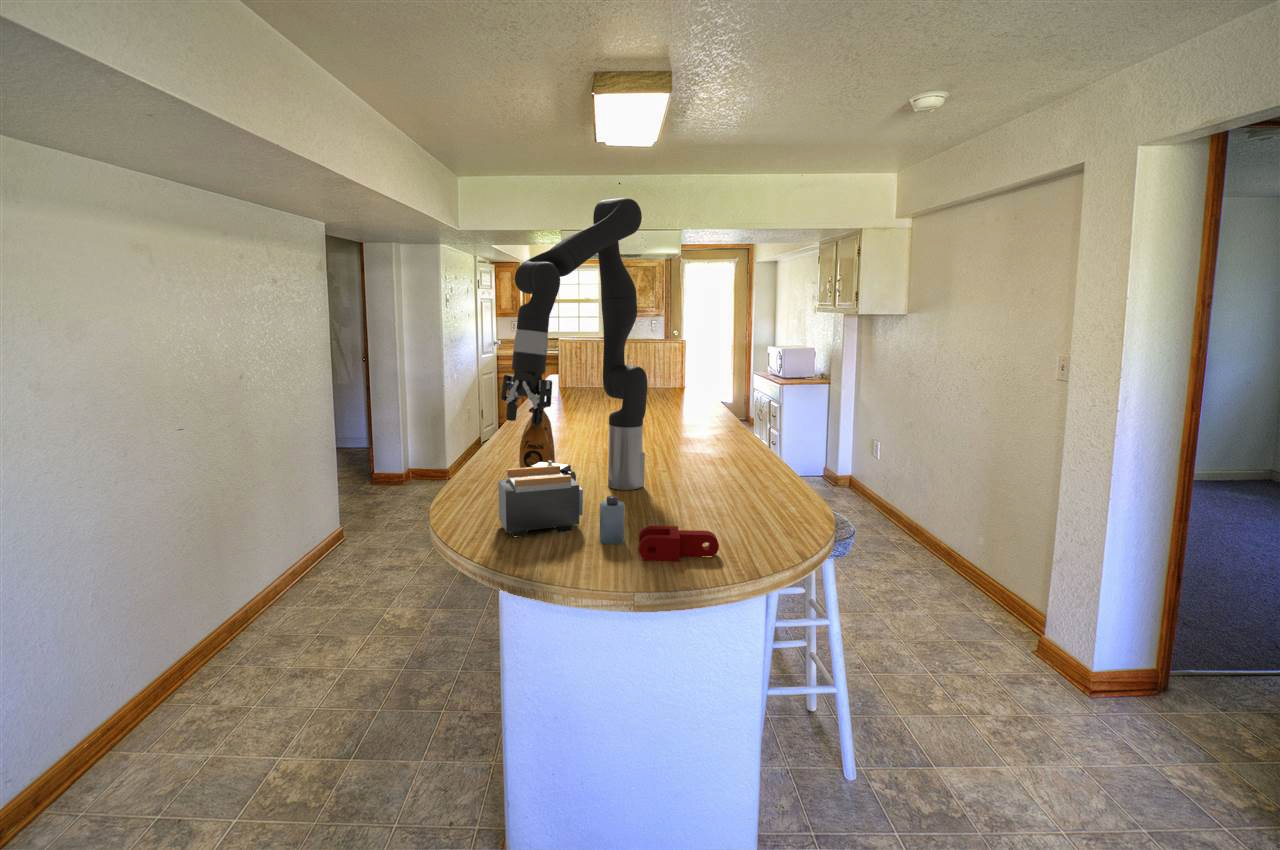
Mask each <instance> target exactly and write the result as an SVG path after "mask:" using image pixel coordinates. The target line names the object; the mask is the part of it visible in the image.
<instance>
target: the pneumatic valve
mask: <svg viewBox="0 0 1280 850" xmlns="http://www.w3.org/2000/svg"><path fill="white" fill-rule="evenodd" d="M555 465H560V472H561V473H562V474H563V475H571V478H572V479H573V480H575V481H576V480H577V474H576V472H575V471H573V469H572V465H571V464H563V463H555V464H554V463H552V461H548V463H545V462H536V463H534V464H532V465H530V466H529V467H541V466H555ZM576 482H577V481H576Z"/></svg>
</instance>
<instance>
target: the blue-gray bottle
mask: <svg viewBox="0 0 1280 850" xmlns="http://www.w3.org/2000/svg"><path fill="white" fill-rule="evenodd" d="M625 508H626V507H625V503H624V502H623V501H620V500H619V496H617V495H607V496H606V500H604V501H602V502H600V503H599V542H600V543H601V544H605V545H611V546H612V545H619V544H623V543H624V541H625V510H626V509H625Z"/></svg>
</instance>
